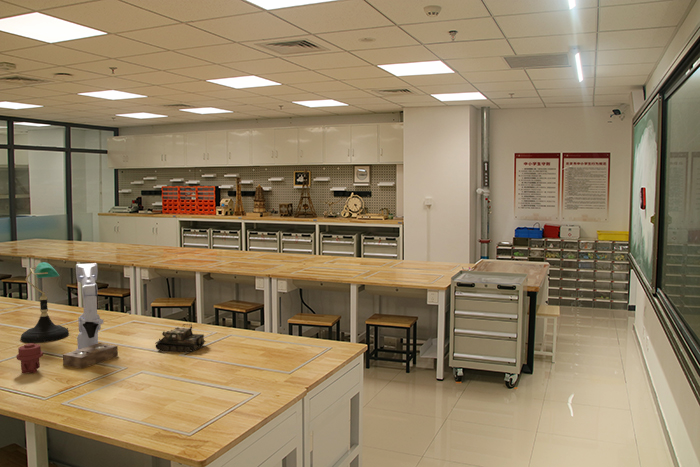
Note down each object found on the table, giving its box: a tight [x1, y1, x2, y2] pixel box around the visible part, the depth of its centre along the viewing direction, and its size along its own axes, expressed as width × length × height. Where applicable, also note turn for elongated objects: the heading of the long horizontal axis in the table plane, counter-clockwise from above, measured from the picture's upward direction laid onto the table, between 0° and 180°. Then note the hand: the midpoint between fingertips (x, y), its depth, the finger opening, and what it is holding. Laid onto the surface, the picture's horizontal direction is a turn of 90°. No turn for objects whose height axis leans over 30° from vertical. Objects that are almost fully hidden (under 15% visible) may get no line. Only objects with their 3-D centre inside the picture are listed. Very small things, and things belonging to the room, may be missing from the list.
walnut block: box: [62, 342, 119, 370], centre depth 245 cm, size 12×20×5 cm, turn 156°
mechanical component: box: [15, 343, 44, 375], centre depth 229 cm, size 12×10×10 cm
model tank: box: [154, 322, 207, 353], centre depth 264 cm, size 13×22×15 cm, turn 82°
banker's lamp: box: [20, 262, 70, 344], centre depth 283 cm, size 26×23×40 cm
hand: (91, 337), depth 248 cm, fingers closed
